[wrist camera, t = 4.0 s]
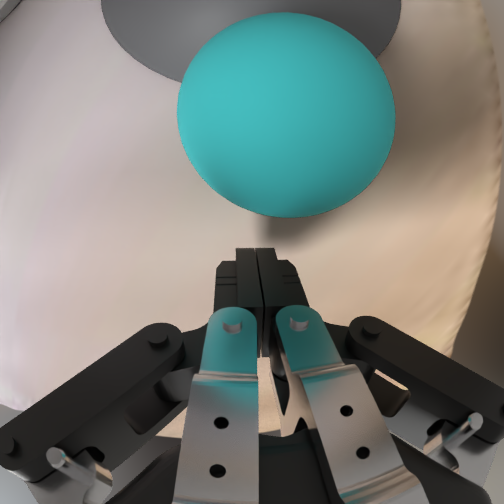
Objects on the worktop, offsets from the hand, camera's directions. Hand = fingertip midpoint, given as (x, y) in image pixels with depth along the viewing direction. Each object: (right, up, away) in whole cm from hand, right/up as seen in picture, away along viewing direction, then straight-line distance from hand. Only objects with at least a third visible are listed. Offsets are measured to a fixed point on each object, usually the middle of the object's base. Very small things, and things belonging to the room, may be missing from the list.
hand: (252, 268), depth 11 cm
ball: (+1, +5, -4) cm, 6 cm away
